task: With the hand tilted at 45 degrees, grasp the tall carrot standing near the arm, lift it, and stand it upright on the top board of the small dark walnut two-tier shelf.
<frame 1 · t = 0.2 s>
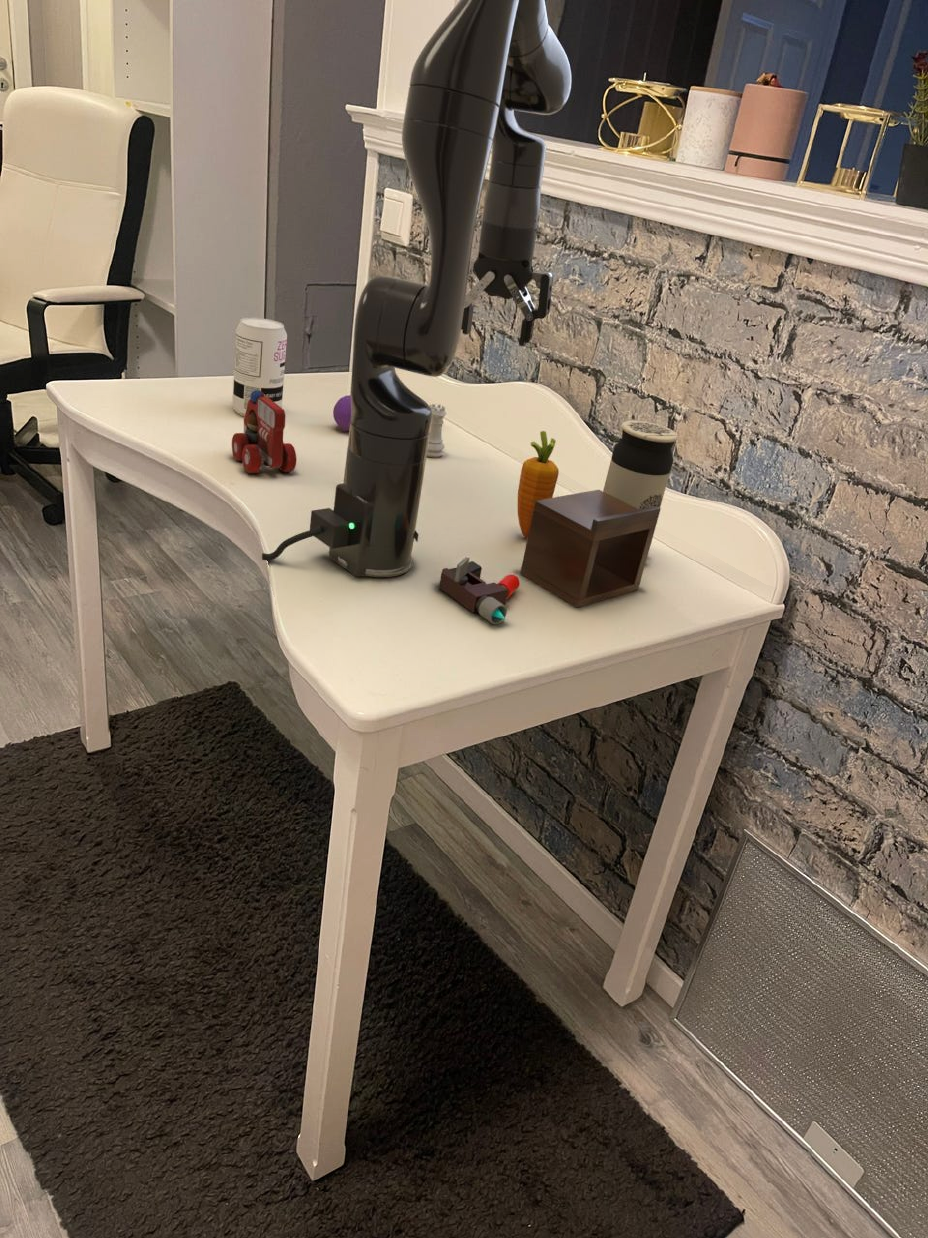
hand: (494, 338, 136), 22 cm above the table, tool pointing down, fingers open, 8 cm apart
toy fire truck: (261, 466, 139), on the table
rook chess piece: (430, 454, 156), on the table
shelf: (579, 581, 121), on the table
carrot: (525, 539, 131), on the table
supplement can: (256, 413, 160), on the table
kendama: (383, 429, 164), on the table
toy gun: (489, 601, 112), on the table
travel mug: (616, 555, 131), on the table
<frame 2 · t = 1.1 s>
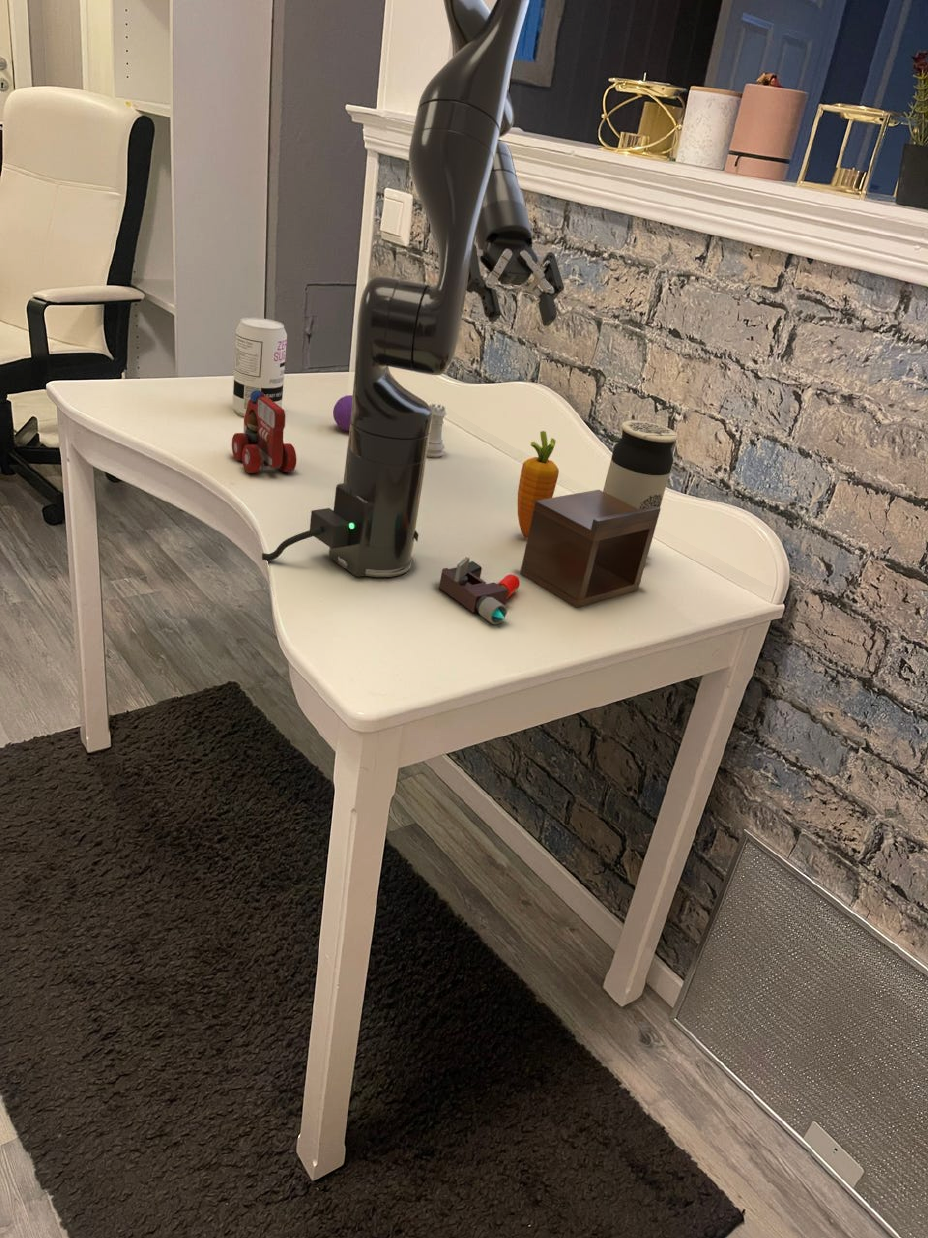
hand: (523, 320, 127), 27 cm above the table, tool tilted 45°, fingers open, 8 cm apart
nothing on the table moved.
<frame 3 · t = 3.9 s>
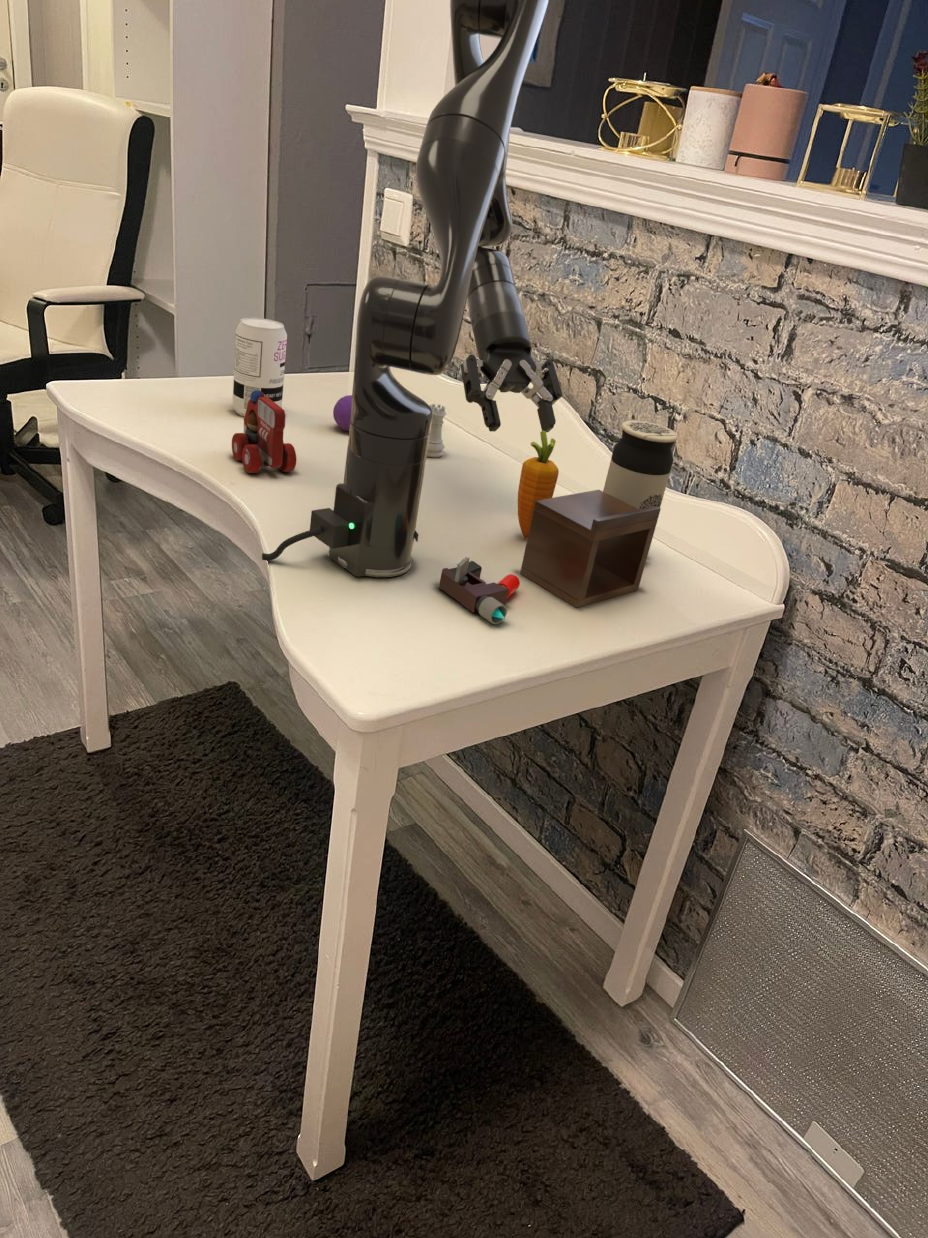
hand: (522, 429, 129), 13 cm above the table, tool tilted 45°, fingers open, 8 cm apart
nothing on the table moved.
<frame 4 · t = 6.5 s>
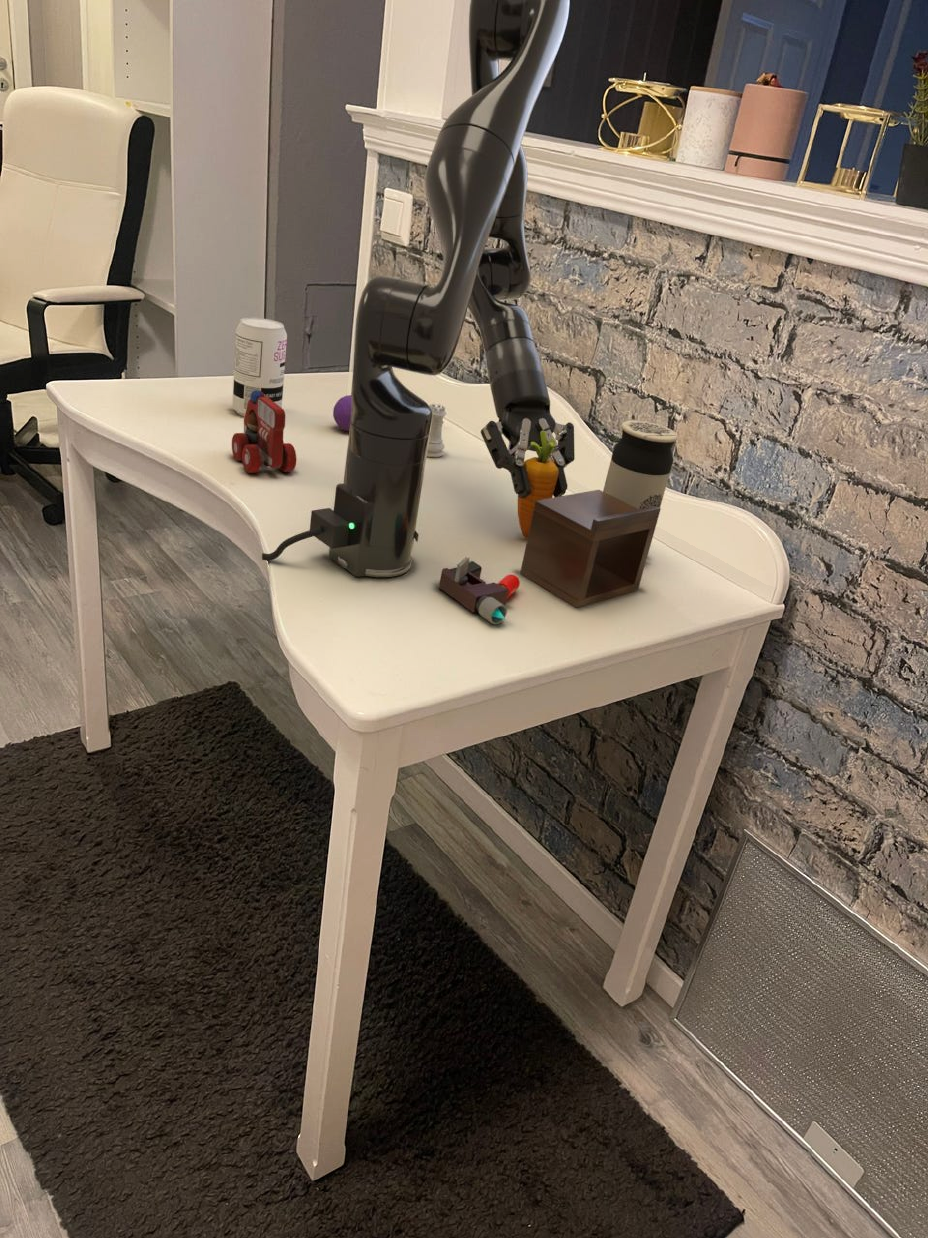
hand: (543, 495, 126), 7 cm above the table, tool tilted 45°, fingers closed on carrot, 5 cm apart
carrot: (525, 539, 131), on the table, touching gripper
everything else where it was.
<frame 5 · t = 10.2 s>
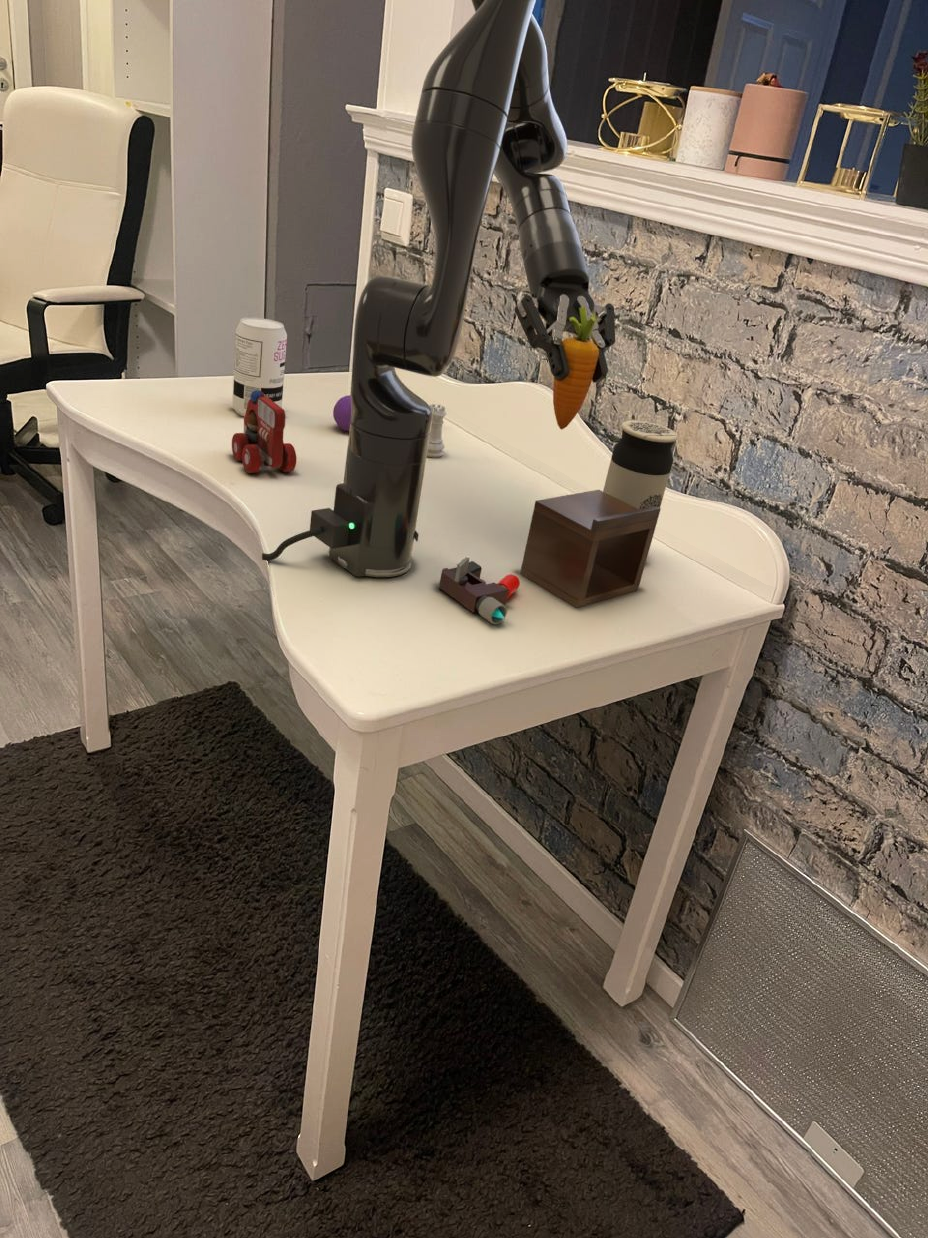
hand: (581, 378, 116), 24 cm above the table, tool tilted 45°, fingers closed on carrot, 5 cm apart
carrot: (561, 430, 121), point 17 cm above the table, touching gripper
everything else where it was.
when the fingers open (17 cm above the table, at t = 14.0 s): carrot stays where it is, resting on shelf.
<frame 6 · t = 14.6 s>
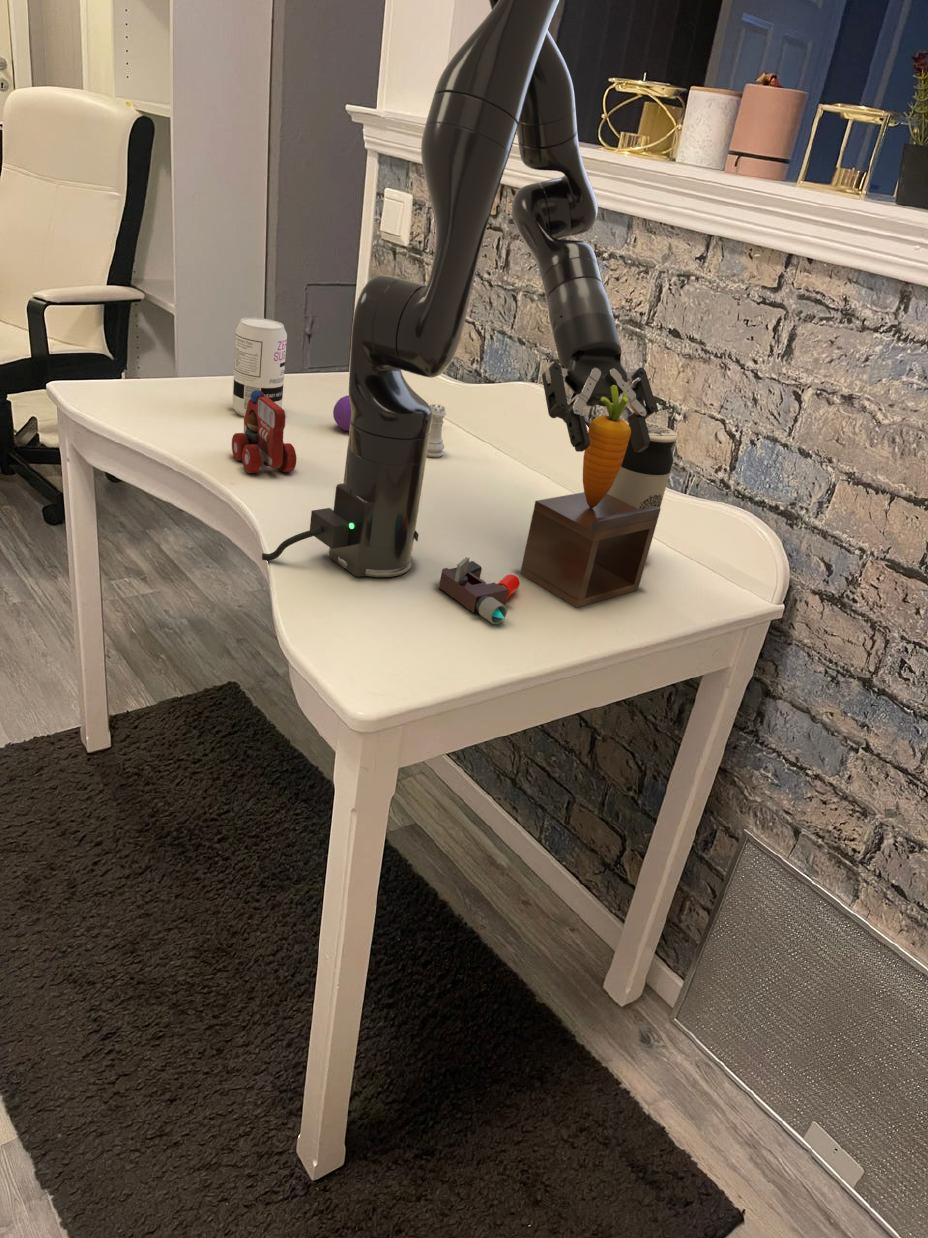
hand: (613, 449, 111), 18 cm above the table, tool tilted 45°, fingers open, 8 cm apart
carrot: (590, 509, 116), point 10 cm above the table, touching shelf
everything else where it was.
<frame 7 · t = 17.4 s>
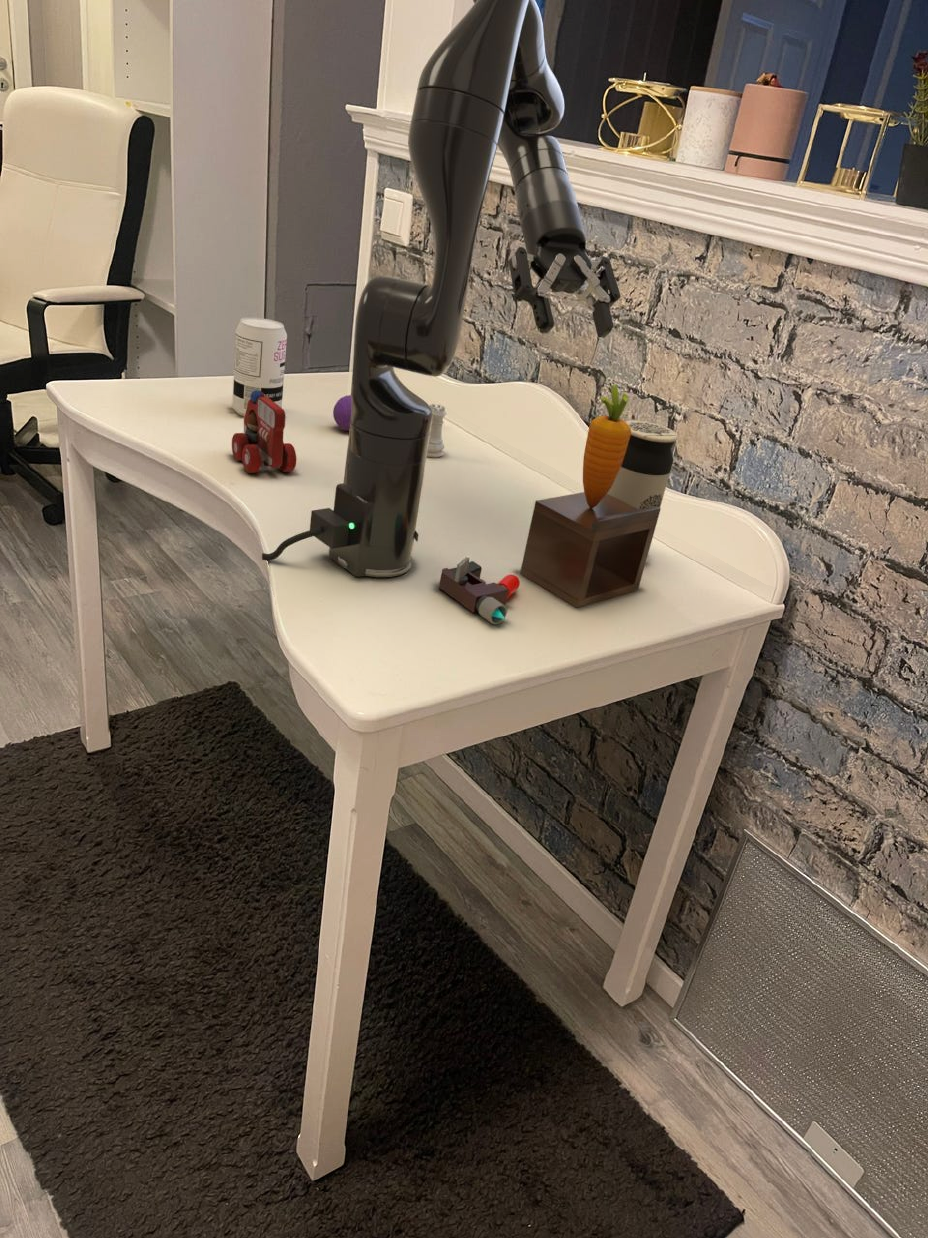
hand: (577, 332, 116), 29 cm above the table, tool tilted 45°, fingers open, 8 cm apart
nothing on the table moved.
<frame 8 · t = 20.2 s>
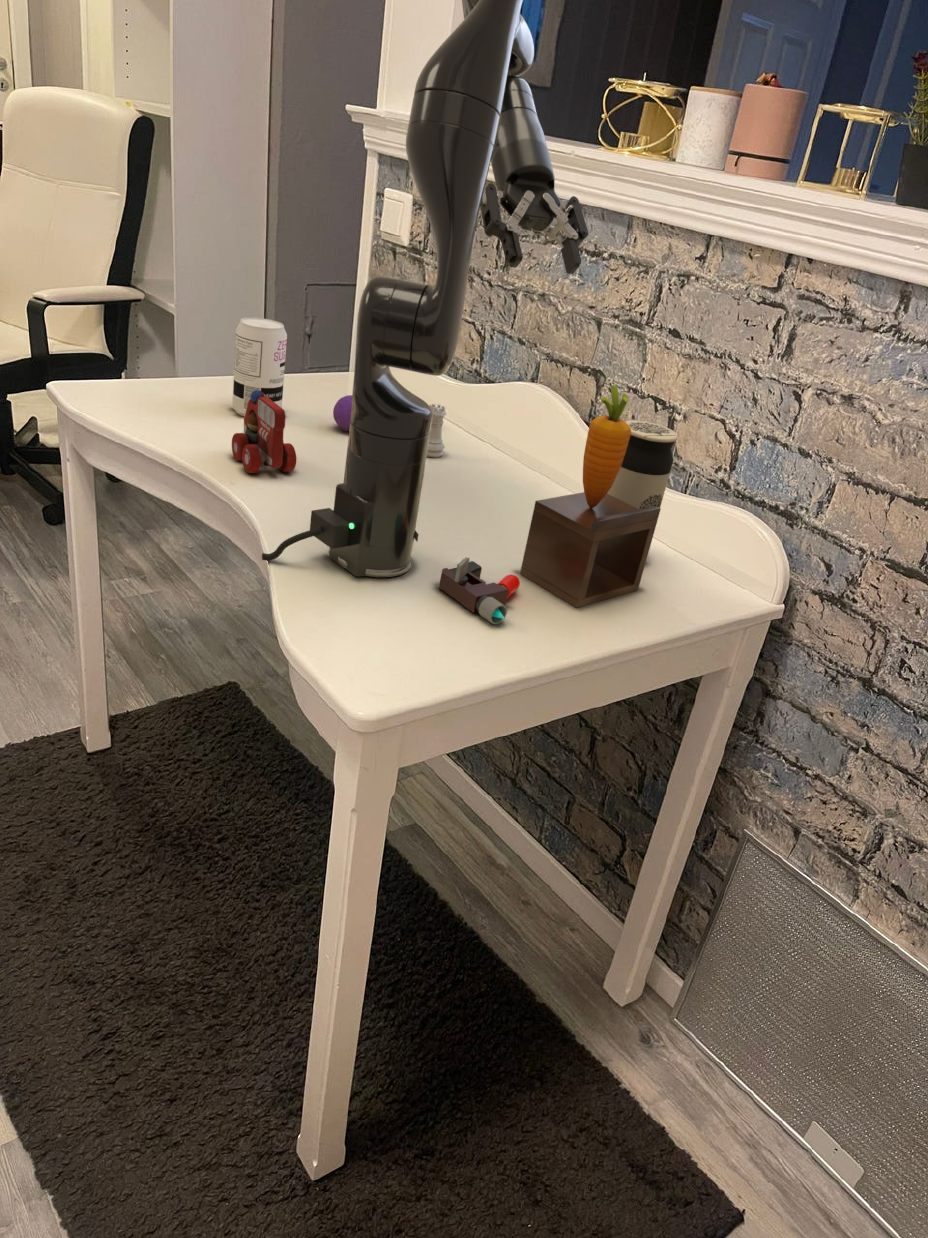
hand: (545, 267, 119), 35 cm above the table, tool tilted 45°, fingers open, 8 cm apart
nothing on the table moved.
at the end: carrot inside the target area on the shelf (0.8 cm from its centre), point 9.8 cm above the shelf's base; carrot tilted 0°; the gripper is holding nothing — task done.
